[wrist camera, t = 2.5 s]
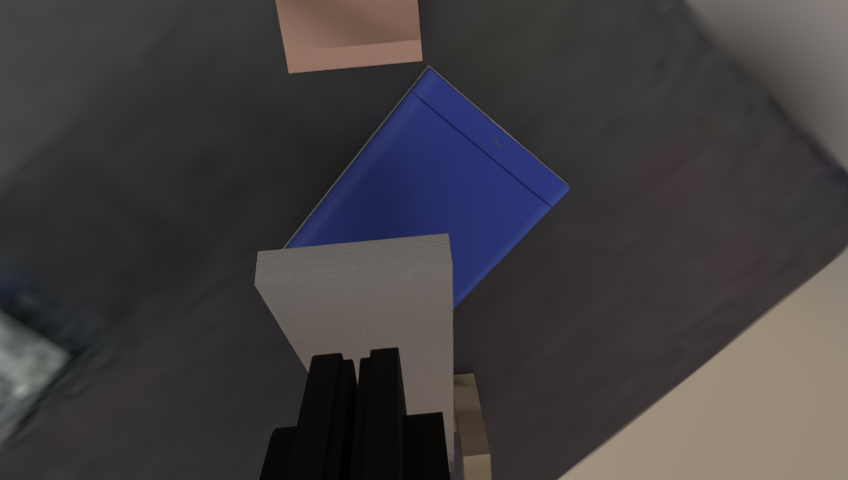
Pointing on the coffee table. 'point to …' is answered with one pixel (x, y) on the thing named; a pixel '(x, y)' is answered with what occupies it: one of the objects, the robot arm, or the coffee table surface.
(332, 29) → the block
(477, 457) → the pivot bracket
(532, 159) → the hard drive
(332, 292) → the grey long flat bar
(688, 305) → the coffee table surface
